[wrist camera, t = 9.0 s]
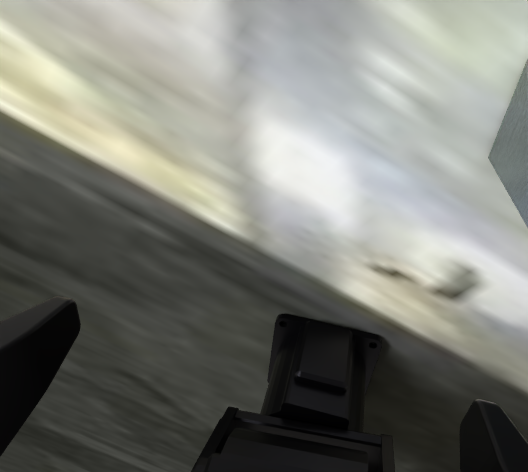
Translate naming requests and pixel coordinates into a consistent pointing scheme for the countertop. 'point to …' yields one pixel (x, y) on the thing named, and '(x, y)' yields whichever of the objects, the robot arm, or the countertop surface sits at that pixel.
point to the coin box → (514, 147)
